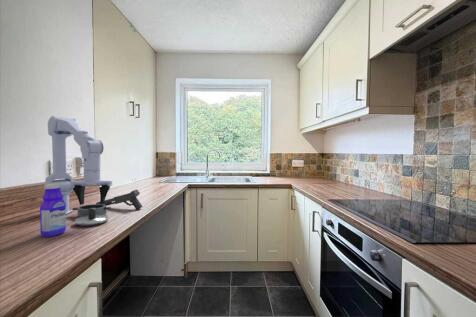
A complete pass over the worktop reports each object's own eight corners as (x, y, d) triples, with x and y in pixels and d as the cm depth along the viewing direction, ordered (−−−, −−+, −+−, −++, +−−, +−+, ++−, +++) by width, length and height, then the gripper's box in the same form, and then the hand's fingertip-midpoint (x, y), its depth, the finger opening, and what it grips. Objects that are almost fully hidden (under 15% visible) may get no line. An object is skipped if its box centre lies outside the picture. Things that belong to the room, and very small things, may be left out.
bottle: (50, 238, 80) (49, 185, 79) (36, 237, 81) (35, 185, 81) (69, 231, 87) (69, 183, 87) (56, 230, 88) (56, 182, 88)
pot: (66, 219, 102) (66, 209, 102) (79, 213, 113) (79, 204, 113) (105, 218, 105) (105, 209, 105) (114, 212, 115) (114, 203, 115)
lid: (68, 228, 91) (68, 212, 91) (83, 219, 103) (83, 205, 103) (101, 227, 93) (101, 211, 93) (112, 219, 104) (112, 205, 104)
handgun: (139, 209, 120) (134, 190, 120) (98, 219, 124) (93, 200, 124) (144, 207, 123) (139, 188, 124) (104, 217, 128) (99, 199, 128)
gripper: (66, 171, 92) (66, 206, 93) (107, 171, 94) (107, 205, 95) (76, 169, 99) (76, 202, 100) (114, 169, 101) (114, 202, 102)
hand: (92, 204), depth 98 cm, fingers open, 7 cm apart
